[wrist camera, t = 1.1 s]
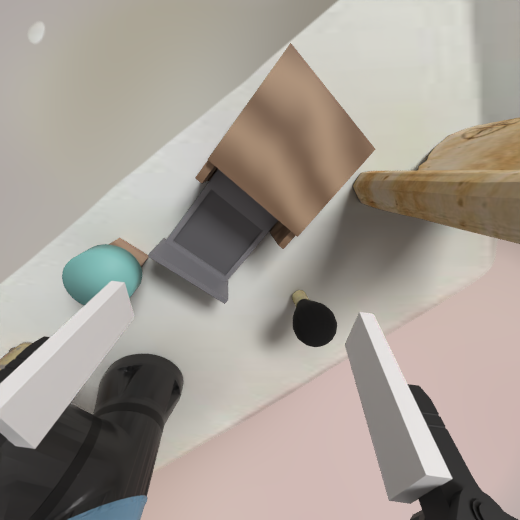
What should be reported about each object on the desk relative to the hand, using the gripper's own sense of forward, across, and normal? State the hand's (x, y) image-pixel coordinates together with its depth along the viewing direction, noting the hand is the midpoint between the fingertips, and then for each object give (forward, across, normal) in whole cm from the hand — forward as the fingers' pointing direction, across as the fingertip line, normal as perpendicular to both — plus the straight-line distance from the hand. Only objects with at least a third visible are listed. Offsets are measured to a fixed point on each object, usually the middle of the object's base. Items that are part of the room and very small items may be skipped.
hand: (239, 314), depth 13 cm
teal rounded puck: (+15, +20, +10) cm, 27 cm away
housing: (+27, 0, -4) cm, 27 cm away
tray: (+24, +6, +5) cm, 25 cm away
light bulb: (+24, -8, +18) cm, 32 cm away
